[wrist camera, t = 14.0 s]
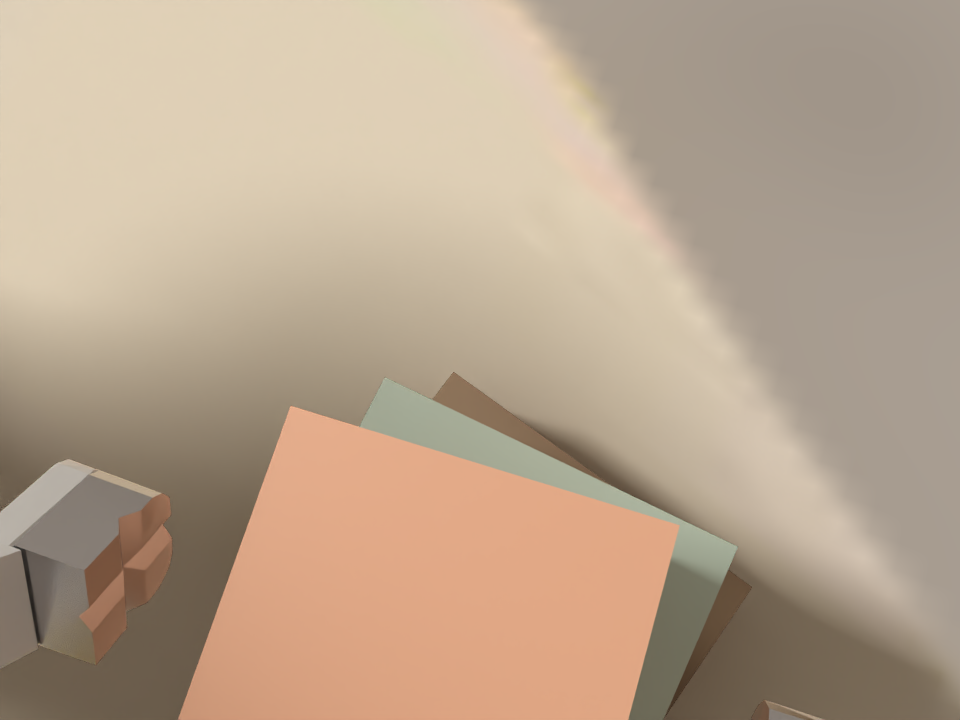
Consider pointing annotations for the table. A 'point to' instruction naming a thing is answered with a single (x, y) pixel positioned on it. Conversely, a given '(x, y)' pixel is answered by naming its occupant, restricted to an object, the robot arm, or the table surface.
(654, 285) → the table surface
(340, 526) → the terracotta block
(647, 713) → the tower top
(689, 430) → the table surface
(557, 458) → the tower base
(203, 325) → the table surface
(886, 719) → the table surface
